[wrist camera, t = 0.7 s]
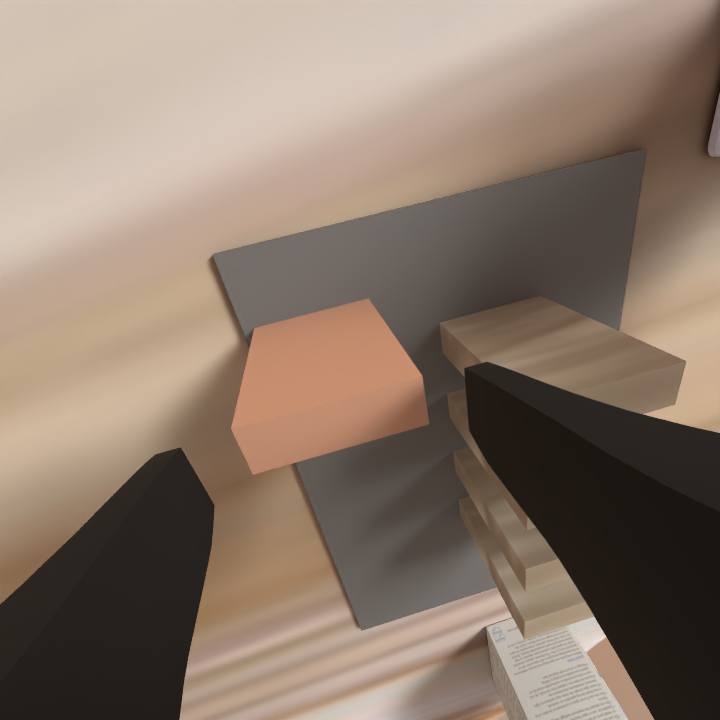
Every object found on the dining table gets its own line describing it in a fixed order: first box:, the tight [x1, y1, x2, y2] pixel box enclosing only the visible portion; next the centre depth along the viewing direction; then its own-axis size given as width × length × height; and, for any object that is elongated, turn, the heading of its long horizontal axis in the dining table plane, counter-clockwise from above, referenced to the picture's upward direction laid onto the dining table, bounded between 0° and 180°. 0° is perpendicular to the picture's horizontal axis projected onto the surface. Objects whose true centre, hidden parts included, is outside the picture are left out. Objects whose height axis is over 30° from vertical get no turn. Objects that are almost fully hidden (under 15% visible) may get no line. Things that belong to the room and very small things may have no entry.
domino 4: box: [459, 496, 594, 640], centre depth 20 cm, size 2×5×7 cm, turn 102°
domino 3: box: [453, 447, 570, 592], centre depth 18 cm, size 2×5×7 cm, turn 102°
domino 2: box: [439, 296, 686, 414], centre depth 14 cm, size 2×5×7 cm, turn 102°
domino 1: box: [231, 298, 429, 475], centre depth 13 cm, size 2×5×7 cm, turn 103°
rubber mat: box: [213, 149, 646, 631], centre depth 21 cm, size 18×28×1 cm, turn 13°
